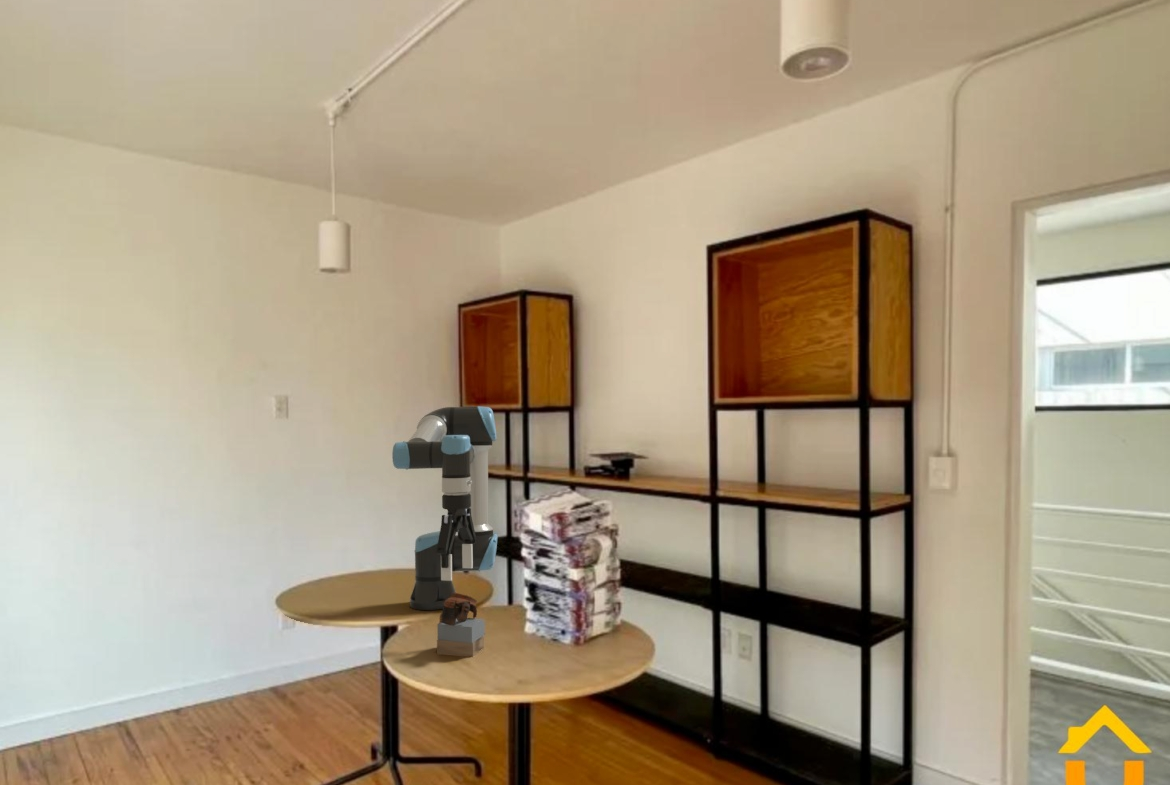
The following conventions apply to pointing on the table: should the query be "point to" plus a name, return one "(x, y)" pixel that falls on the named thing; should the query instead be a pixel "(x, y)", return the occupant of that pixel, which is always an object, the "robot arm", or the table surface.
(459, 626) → the blue-grey block
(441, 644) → the walnut block
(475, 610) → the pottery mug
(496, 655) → the table surface
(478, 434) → the robot arm
